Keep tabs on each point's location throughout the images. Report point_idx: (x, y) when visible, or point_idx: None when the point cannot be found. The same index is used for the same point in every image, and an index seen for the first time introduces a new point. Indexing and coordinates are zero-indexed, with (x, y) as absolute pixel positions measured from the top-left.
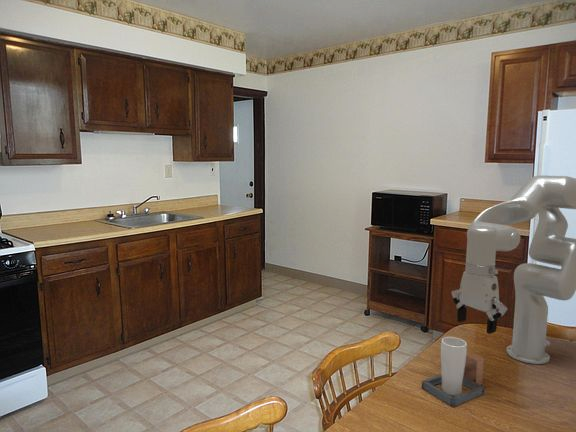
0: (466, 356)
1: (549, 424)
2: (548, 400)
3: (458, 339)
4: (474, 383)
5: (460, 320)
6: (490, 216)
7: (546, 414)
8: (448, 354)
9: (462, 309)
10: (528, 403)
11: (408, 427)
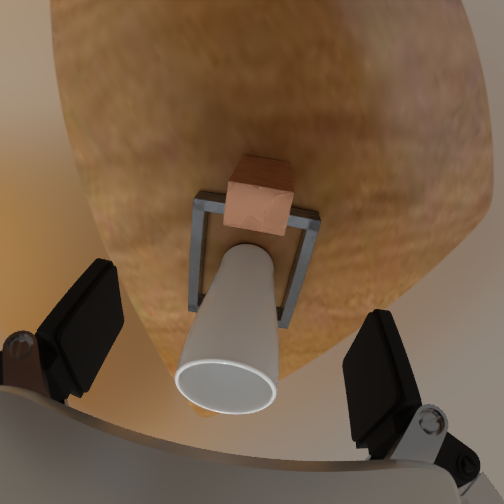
0: (229, 225)
1: (462, 229)
2: (452, 118)
3: (215, 359)
4: (289, 225)
5: (119, 323)
6: None
7: (457, 193)
8: (237, 386)
9: (77, 379)
10: (421, 171)
11: None
